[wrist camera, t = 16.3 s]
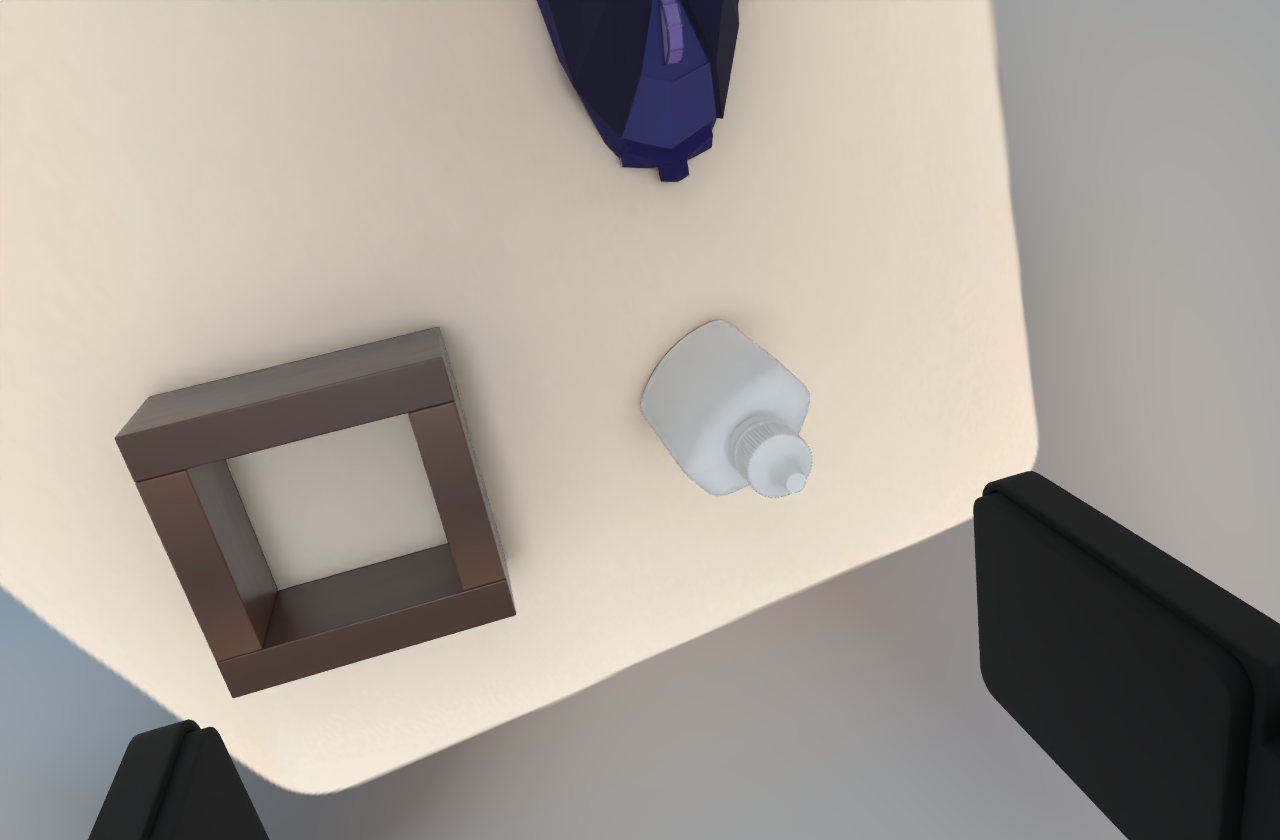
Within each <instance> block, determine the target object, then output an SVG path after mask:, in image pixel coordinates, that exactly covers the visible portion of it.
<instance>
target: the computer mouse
mask: <svg viewBox="0 0 1280 840" xmlns="http://www.w3.org/2000/svg"><path fill="white" fill-rule="evenodd" d="M537 2H538V5H539V7H540V10H541V13H542V15H543V18H544V21H545V23H546V26H547V29H548V32H549V34H550V37H551V40H552V42H553V45H554V48H555V50H556V53H557V56H558V59H559V61H560V63H561V64H562V66H563V68H564V70H565V72H566V73H567V75H568V77H569V79H570V81H571V83H572V84H573V87H574V88H575V90H576V92H577V93H578V95H579V97H580V99H581V101H582V102H583V104H584V106H585V108H586V110H587V111H588V113H589V115H590V117H591V119H592V120H593V122H594V124H595V126H596V128H597V129H598V131H599V133H600V135H601V137H602V138H603V140H604V142H605V144H606V145H607V146H608V147H609V148H610V149H611V150H612V151H613V152H614V153H615V154H616V155H617V156H618V157H619V158H620V160H621V164H622V167H632V168H657V167H658V171H659V175H660V179H661V181H664V182H678V181H680V180H682V179H683V178H685V177H687V176H689V170H688V163H687V160H689V159H691V158H693V157H695V156H697V155H699V154H701V153H702V152H704V151H706V150H708V149H710V148H712V139H713V133H712V129H713V127H714V124H715V121H716V119H717V118H722V119H723V115H724V109H725V104H726V98H727V92H728V86H729V80H730V74H731V69H732V63H733V57H734V51H735V45H736V39H737V33H738V28H739V16H738V3H739V0H537Z"/></svg>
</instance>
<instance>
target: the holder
mask: <svg viewBox="0 0 1280 840" xmlns="http://www.w3.org/2000/svg"><path fill="white" fill-rule="evenodd" d="M405 413H408V415H409V418H410V422H411V425H412V428H413V431H414V435H415V438H416V441H417V444H418V447H419V451H420V454H421V457H422V460H423V463H424V467H425V470H426V473H427V476H428V480H429V483H430V486H431V489H432V492H433V496H434V499H435V502H436V505H437V509H438V512H439V515H440V518H441V521H442V525H443V528H444V531H445V534H446V538H447V541H448V544H446V545H442V546H438V547H435V548H431V549H428V550H424V551H420V552H417V553H413V554H410V555H406V556H403V557H399V558H395V559H392V560H388V561H385V562H381V563H378V564H374V565H370V566H367V567H363V568H360V569H356V570H352V571H349V572H345V573H342V574H338V575H335V576H331V577H327V578H324V579H320V580H317V581H313V582H309V583H306V584H302V585H299V586H295V587H292V588H288V589H284V590H281V591H277V588H276V585H275V583H274V580H273V578H272V575H271V573H270V570H269V568H268V565H267V563H266V561H265V558H264V556H263V553H262V551H261V548H260V546H259V543H258V541H257V538H256V536H255V534H254V531H253V529H252V526H251V524H250V521H249V519H248V516H247V514H246V511H245V509H244V506H243V504H242V502H241V499H240V497H239V494H238V492H237V489H236V487H235V484H234V482H233V479H232V477H231V475H230V472H229V470H228V467H227V465H226V462H225V459H229V458H232V457H236V456H240V455H244V454H248V453H252V452H256V451H260V450H264V449H268V448H272V447H276V446H279V445H283V444H287V443H291V442H295V441H299V440H303V439H307V438H311V437H315V436H319V435H322V434H326V433H330V432H334V431H338V430H342V429H346V428H350V427H354V426H358V425H362V424H365V423H369V422H373V421H377V420H381V419H385V418H389V417H393V416H397V415H401V414H405ZM115 441H116V443H117V445H118V447H119V449H120V452H121V454H122V456H123V458H124V460H125V463H126V465H127V467H128V469H129V471H130V474H131V476H132V478H133V480H134V482H136V483H135V484H136V487H137V489H138V491H139V493H140V495H141V498H142V500H143V502H144V504H145V506H146V509H147V511H148V513H149V515H150V517H151V520H152V522H153V524H154V526H155V528H156V531H157V533H158V535H159V537H160V539H161V542H162V544H163V546H164V548H165V550H166V552H167V555H168V557H169V559H170V561H171V563H172V566H173V568H174V570H175V572H176V574H177V577H178V579H179V581H180V583H181V585H182V588H183V590H184V592H185V594H186V596H187V599H188V601H189V603H190V605H191V607H192V610H193V612H194V614H195V616H196V618H197V621H198V623H199V625H200V627H201V629H202V632H203V634H204V636H205V638H206V640H207V643H208V645H209V647H210V649H211V651H212V654H213V656H214V658H215V660H216V662H217V665H218V667H219V669H220V671H221V674H222V676H223V678H224V680H225V682H226V685H227V687H228V689H229V691H230V693H231V696H232V698H236V697H240V696H243V695H246V694H250V693H253V692H257V691H260V690H263V689H267V688H270V687H274V686H277V685H280V684H284V683H287V682H290V681H294V680H297V679H301V678H304V677H307V676H311V675H314V674H318V673H321V672H324V671H328V670H331V669H335V668H338V667H341V666H345V665H348V664H352V663H355V662H358V661H362V660H365V659H369V658H372V657H375V656H379V655H382V654H386V653H389V652H392V651H396V650H399V649H403V648H406V647H409V646H413V645H416V644H420V643H423V642H426V641H430V640H433V639H437V638H440V637H443V636H447V635H450V634H454V633H457V632H460V631H464V630H467V629H471V628H474V627H477V626H481V625H484V624H487V623H491V622H494V621H498V620H501V619H504V618H508V617H511V616H515V615H516V610H515V605H514V599H513V594H512V589H511V584H510V579H509V574H508V569H507V564H506V560H505V556H504V553H503V549H502V546H501V542H500V539H499V535H498V532H497V528H496V525H495V521H494V518H493V514H492V511H491V507H490V504H489V500H488V497H487V493H486V490H485V486H484V483H483V479H482V476H481V472H480V469H479V465H478V462H477V458H476V455H475V451H474V448H473V444H472V441H471V437H470V433H469V430H468V426H467V423H466V419H465V416H464V412H463V409H462V405H461V402H460V398H459V395H458V391H457V388H456V384H455V381H454V377H453V374H452V370H451V368H450V363H449V360H448V356H447V352H446V349H445V345H444V342H443V338H442V335H441V331H440V328H439V327H435V328H431V329H427V330H423V331H419V332H415V333H411V334H406V335H402V336H398V337H394V338H390V339H386V340H382V341H378V342H374V343H369V344H365V345H361V346H357V347H353V348H349V349H345V350H341V351H336V352H332V353H328V354H324V355H320V356H316V357H312V358H308V359H303V360H299V361H295V362H291V363H287V364H283V365H279V366H275V367H271V368H266V369H262V370H258V371H254V372H250V373H246V374H242V375H238V376H233V377H229V378H225V379H221V380H217V381H213V382H209V383H205V384H200V385H196V386H192V387H188V388H184V389H180V390H176V391H172V392H168V393H163V394H159V395H155V396H151V397H148V399H147V400H146V401H145V402H144V403H143V405H142V406H141V407H140V408H139V409H138V410H137V412H136V413H135V414H134V415H133V416H132V418H131V419H130V420H129V421H128V422H127V424H126V425H125V426H124V427H123V428H122V430H121V431H120V432H119V433H118V434H117V436H116V437H115Z"/></svg>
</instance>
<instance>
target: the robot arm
mask: <svg viewBox="0 0 1280 840" xmlns="http://www.w3.org/2000/svg"><path fill="white" fill-rule="evenodd" d="M973 514H974V535H975V536H974V537H975V559H976V579H977V580H976V581H977V604H978V626H979V649H980V668H981V673H982V676H983V680H984V682H985V684H986V687H987V688H988V690H989V692H990V693H991V694H992V696H993V697H994V698H995V699H996V700H997V701H998V702H999V703H1000V704H1001V705H1002V707H1003V708H1004V709H1005V710H1006V711H1007V712H1008V713H1009V714H1010V715H1011V716H1012V717H1013V718H1014V719H1015V720H1016V721H1017V722H1018V724H1020V726H1021V727H1022V728H1023V729H1024V730H1025V731H1026V732H1027V733H1028V734H1029V735H1030V736H1031V737H1032V738H1033V739H1034V740H1035V741H1036V742H1037V744H1038V745H1040V747H1041V748H1042V749H1043V750H1044V751H1045V752H1046V753H1047V754H1048V755H1049V756H1050V757H1051V758H1052V759H1053V760H1054V761H1055V763H1056V764H1058V766H1059V767H1060V768H1061V769H1062V770H1063V771H1064V772H1065V773H1066V774H1067V775H1068V776H1069V777H1070V778H1071V779H1072V780H1073V781H1074V783H1075V784H1076V785H1077V786H1078V787H1079V788H1080V789H1081V790H1082V791H1083V792H1084V793H1085V794H1086V795H1087V796H1088V797H1089V798H1090V799H1091V801H1092V802H1093V803H1094V804H1095V805H1096V806H1097V807H1098V808H1099V809H1100V810H1101V811H1102V812H1103V813H1104V814H1105V815H1106V816H1107V817H1108V819H1110V821H1111V822H1112V823H1113V824H1114V825H1115V826H1116V827H1117V828H1118V829H1119V830H1120V831H1121V832H1122V833H1123V834H1124V835H1125V836H1126V837H1127V838H1128V840H1280V624H1279V623H1277V622H1276V621H1274V620H1273V619H1271V618H1270V617H1268V616H1266V615H1265V614H1263V613H1262V612H1260V611H1258V610H1257V609H1255V608H1254V607H1252V606H1250V605H1248V604H1247V603H1245V602H1244V601H1242V600H1241V599H1239V598H1237V597H1236V596H1234V595H1232V594H1231V593H1229V592H1228V591H1226V590H1224V589H1223V588H1222V587H1220V586H1218V585H1217V584H1215V583H1213V582H1212V581H1210V580H1209V579H1207V578H1205V577H1204V576H1202V575H1201V574H1199V573H1197V572H1196V571H1194V570H1193V569H1191V568H1189V567H1188V566H1186V565H1185V564H1183V563H1181V562H1180V561H1178V560H1177V559H1175V558H1173V557H1172V556H1170V555H1169V554H1167V553H1165V552H1164V551H1162V550H1160V549H1159V548H1157V547H1156V546H1154V545H1152V544H1151V543H1149V542H1148V541H1146V540H1144V539H1143V538H1141V537H1140V536H1138V535H1136V534H1134V533H1133V532H1132V531H1130V530H1128V529H1127V528H1125V527H1124V526H1122V525H1120V524H1118V523H1117V522H1116V521H1114V520H1112V519H1111V518H1109V517H1108V516H1106V515H1104V514H1103V513H1101V512H1100V511H1098V510H1096V509H1094V508H1093V507H1092V506H1090V505H1088V504H1087V503H1085V502H1083V501H1082V500H1080V499H1079V498H1077V497H1075V496H1074V495H1072V494H1070V493H1069V492H1067V491H1066V490H1064V489H1063V488H1061V487H1059V486H1058V485H1056V484H1055V483H1053V482H1051V481H1050V480H1048V479H1046V478H1045V477H1043V476H1041V475H1040V474H1038V473H1036V472H1033V471H1027V472H1023V473H1020V474H1017V475H1013V476H1010V477H1006V478H1003V479H1000V480H996V481H993V482H990V483H988V484H987V485H986V486H985V488H984V490H983V496H982V497H979V498H978V499H976V500H975V503H974V509H973ZM88 840H269V838H268V836H267V834H266V831H265V830H264V827H263V825H262V823H261V821H260V819H259V817H258V814H257V812H256V810H255V808H254V806H253V804H252V802H251V800H250V798H249V796H248V793H247V791H246V789H245V787H244V785H243V783H242V781H241V779H240V776H239V774H238V772H237V770H236V768H235V766H234V764H233V761H232V759H231V757H230V755H229V753H228V751H227V749H226V747H225V745H224V742H223V740H222V738H221V736H220V734H219V733H218V731H217V730H216V729H215V728H214V727H207V728H204V729H200V727H199V725H198V724H197V723H196V722H194V721H193V720H189V719H188V720H185V721H181V722H178V723H175V724H172V725H168V726H165V727H161V728H158V729H154V730H151V731H147V732H144V733H141V734H138V735H136V736H134V737H133V738H132V740H131V742H130V743H129V745H128V747H127V750H126V752H125V755H124V757H123V759H122V761H121V764H120V766H119V768H118V771H117V773H116V775H115V778H114V780H113V782H112V785H111V787H110V790H109V792H108V794H107V796H106V799H105V801H104V803H103V806H102V808H101V811H100V813H99V815H98V817H97V820H96V822H95V825H94V827H93V829H92V831H91V834H90V836H89V839H88Z"/></svg>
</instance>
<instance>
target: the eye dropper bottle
mask: <svg viewBox="0 0 1280 840" xmlns="http://www.w3.org/2000/svg"><path fill="white" fill-rule="evenodd" d="M809 403H810V393H809V391H808V389H807V387H806V386H805V385H804V384H803V383H802V382H801V381H800V380H799V379H798V378H797V377H796V376H795V375H794V374H793V373H792V372H791V371H790V370H789V369H787V368H786V367H785V366H784V365H783V364H781V363H780V362H779V361H778V360H777V359H775V358H774V357H773V356H772V355H770V354H769V353H768V352H766V351H765V350H764V349H763V348H761V347H760V346H759V345H757V344H756V343H755V342H753V341H752V340H751V339H750V338H748V337H747V336H746V335H744V334H743V333H742V332H740V331H739V330H738V329H736V328H735V327H734V326H732V325H731V324H730V323H728V322H726V321H723V320H716V321H712V322H709V323H707V324H705V325H703V326H701V327H699V328H698V329H696V330H694V331H693V332H691V333H690V334H688V335H687V336H686V337H684V338H683V339H682V340H681V341H679V342H678V343H677V344H676V345H675V346H674V347H673V348H672V349H671V350H670V351H669V352H668V353H667V354H666V356H665V357H664V358H663V359H662V361H661V362H660V363H659V365H658V366H657V368H656V369H655V371H654V372H653V374H652V376H651V378H650V380H649V382H648V384H647V386H646V388H645V391H644V393H643V397H642V400H641V412H642V414H643V415H644V417H645V419H646V420H647V421H648V423H649V424H650V426H651V427H652V429H653V430H654V432H655V433H656V434H657V436H658V437H659V439H660V440H661V442H662V443H663V444H664V446H665V447H666V449H667V450H668V451H669V453H670V454H671V456H672V457H673V459H674V460H675V461H676V463H677V464H678V465H679V467H680V468H681V469H682V471H683V472H684V473H685V474H686V475H687V476H688V477H689V478H690V479H691V480H692V481H694V482H695V483H696V484H697V485H699V486H700V487H701V488H702V489H704V490H705V491H707V492H708V493H709V494H712V495H715V496H722V495H727V494H730V493H733V492H735V491H737V490H740V489H742V488H744V487H746V486H748V485H750V486H751V487H752V488H753V489H754V490H755V491H756V492H758V493H759V494H761V495H764V496H767V497H771V498H772V497H774V498H776V497H778V498H779V497H783V496H786V495H789V494H791V493H796V492H799V491H801V490H802V489H803V488H804V487H805V484H806V479H807V477H808V476H809V473H810V470H811V467H812V455H811V453H812V452H811V451H810V448H809V446H808V445H807V443H806V442H805V441H804V440H803V439H802V438H801V437H800V436H799V435H798V434H799V431H800V429H801V427H802V425H803V422H804V420H805V417H806V414H807V411H808V407H809Z"/></svg>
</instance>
